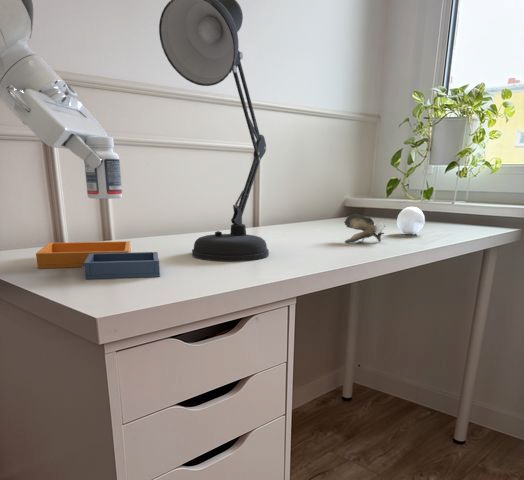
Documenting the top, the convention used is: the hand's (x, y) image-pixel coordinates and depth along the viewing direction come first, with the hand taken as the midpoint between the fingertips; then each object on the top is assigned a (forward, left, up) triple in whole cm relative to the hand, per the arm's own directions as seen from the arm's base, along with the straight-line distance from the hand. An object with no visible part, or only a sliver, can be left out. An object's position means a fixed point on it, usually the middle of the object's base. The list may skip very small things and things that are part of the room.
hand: (106, 165), depth 80 cm
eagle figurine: (+57, +32, -17) cm, 68 cm away
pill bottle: (-1, 0, -5) cm, 5 cm away
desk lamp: (+21, +17, -17) cm, 32 cm away
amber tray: (-6, +15, -17) cm, 23 cm away
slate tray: (+1, +2, -17) cm, 17 cm away
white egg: (+77, +45, -17) cm, 91 cm away
